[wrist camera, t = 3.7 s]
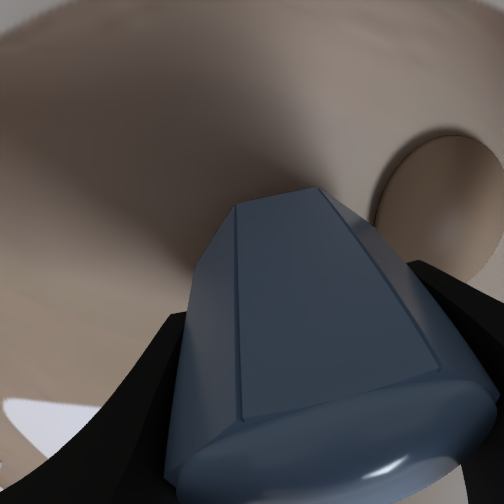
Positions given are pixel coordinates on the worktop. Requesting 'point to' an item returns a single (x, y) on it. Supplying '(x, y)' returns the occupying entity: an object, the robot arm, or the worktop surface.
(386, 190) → the disc
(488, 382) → the cup
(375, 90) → the worktop surface
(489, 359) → the robot arm
